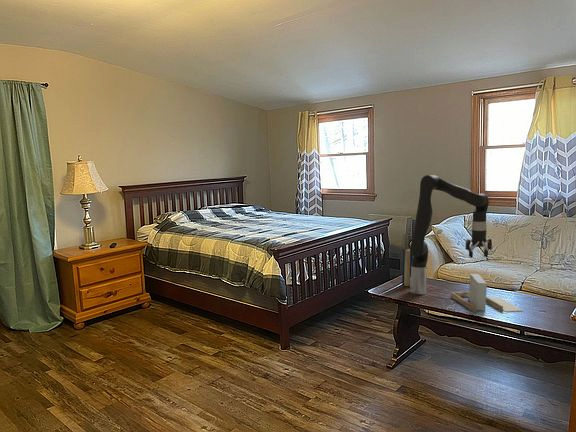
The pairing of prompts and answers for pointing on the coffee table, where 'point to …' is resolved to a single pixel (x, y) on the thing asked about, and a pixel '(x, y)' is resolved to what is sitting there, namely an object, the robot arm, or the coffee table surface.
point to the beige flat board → (506, 305)
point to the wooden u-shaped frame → (458, 298)
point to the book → (406, 267)
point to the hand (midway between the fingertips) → (478, 257)
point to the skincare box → (477, 291)
